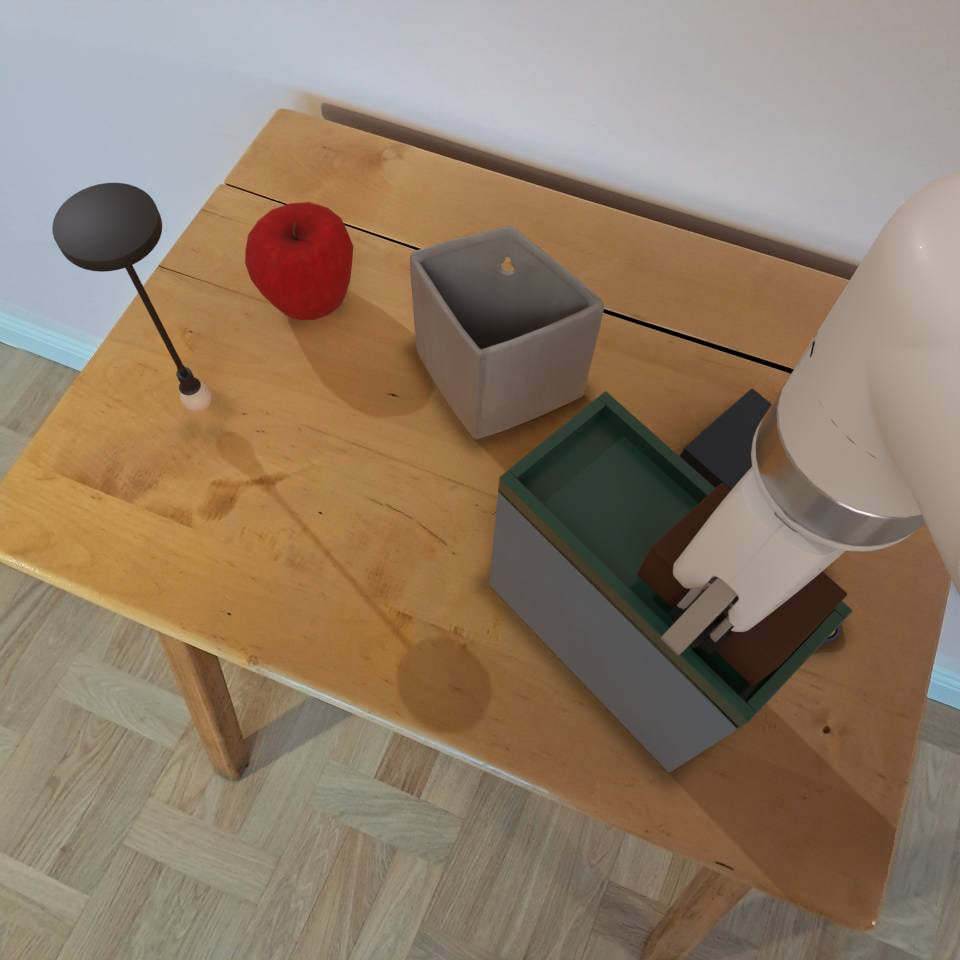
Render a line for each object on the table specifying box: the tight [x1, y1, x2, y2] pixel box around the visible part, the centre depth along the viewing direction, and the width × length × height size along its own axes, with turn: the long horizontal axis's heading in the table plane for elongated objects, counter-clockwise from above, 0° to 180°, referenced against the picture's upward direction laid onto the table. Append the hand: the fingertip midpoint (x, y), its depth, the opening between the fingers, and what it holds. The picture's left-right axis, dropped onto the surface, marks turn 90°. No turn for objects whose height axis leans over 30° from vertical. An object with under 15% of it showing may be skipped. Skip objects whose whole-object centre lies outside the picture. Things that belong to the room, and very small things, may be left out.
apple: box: [244, 201, 354, 321], centre depth 80 cm, size 10×10×11 cm
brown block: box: [637, 483, 848, 686], centre depth 49 cm, size 6×9×4 cm, turn 42°
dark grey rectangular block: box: [679, 388, 772, 490], centre depth 76 cm, size 6×9×4 cm, turn 132°
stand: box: [488, 491, 738, 774], centre depth 62 cm, size 20×10×18 cm, turn 42°
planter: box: [409, 225, 605, 440], centre depth 71 cm, size 16×8×19 cm, turn 73°
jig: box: [497, 390, 853, 730], centre depth 53 cm, size 20×10×2 cm, turn 42°
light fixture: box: [51, 182, 213, 413], centre depth 67 cm, size 7×7×25 cm
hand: (729, 594), depth 51 cm, fingers closed on brown block, 5 cm apart
